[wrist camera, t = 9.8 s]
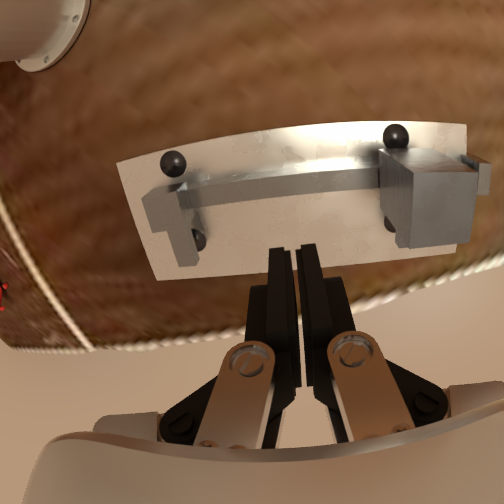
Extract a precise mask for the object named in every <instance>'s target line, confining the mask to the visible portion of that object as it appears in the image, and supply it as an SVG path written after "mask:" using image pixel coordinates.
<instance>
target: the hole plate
mask: <svg viewBox="0 0 504 504" xmlns="http://www.w3.org/2000/svg"><path fill="white" fill-rule="evenodd" d="M396 148H432V149H435V150H437V151H439V152H441V153H443V154H445V155H447V156H449V157H451V158H453V159H455V160H459V161H461V162H462V154H465V155H466V124H463V123H452V122H437V121H411V120H373V121H346V122H330V123H317V124H306V125H297V126H288V127H279V128H272V129H264V130H257V131H251V132H245V133H239V134H233V135H227V136H222V137H216V138H211V139H206V140H201V141H197V142H192V143H188V144H183V145H179V146H175V147H170V148H166V149H162V150H158V151H155V152H151V153H147V154H143V155H140V156H136V157H133V158H129V159H126V160H123V161H120V162H118V163H116V164H117V168H118V171H119V174H120V178H121V181H122V184H123V188H124V191H125V194H126V197H127V200H128V203H129V206H130V209H131V212H132V215H133V218H134V221H135V224H136V227H137V230H138V232H139V235H140V238H141V241H142V243H143V246H144V249H145V251H146V254H147V257H148V259H149V262H150V264H151V267H152V269H153V272H154V274H155V277H156V279H157V281H158V280H173V279H188V278H202V277H215V276H228V275H241V274H253V273H265V272H268V258H269V248H277V247H284V250H285V251H286V250H290V251H291V260H292V268H293V270H297V262H296V253H295V249H301V245H303V244H312V243H316V247H317V252H318V256H319V260H320V265H321V267H331V266H341V265H351V264H361V263H370V262H379V261H389V260H398V259H406V258H415V257H424V256H432V255H440V254H448V253H455V251H456V246H457V244H451V245H442V246H433V247H424V248H415V249H409V248H398V246H397V245H396V243H395V233H396V229H395V228H394V226H393V225H392V223H391V222H390V221H389V219H388V218H387V216H386V215H385V214H384V212H383V211H382V210H381V208H380V188H374V189H360V190H347V191H335V192H324V193H313V194H303V195H294V196H284V197H276V198H267V199H259V200H251V201H243V202H235V203H228V204H221V205H214V206H207V207H200V208H193V211H194V215H195V216H194V218H193V219H192V221H191V222H190V227H191V231H192V234H193V237H195V238H197V240H198V244H197V246H196V248H197V251H198V255H199V258H200V260H199V262H198V264H197V266H189V267H179V266H178V263H177V260H176V257H175V255H174V252H173V249H172V246H171V243H170V240H169V237H168V234H167V231H164V232H157V233H152V231H151V228H150V225H149V222H148V219H147V216H146V213H145V210H144V207H143V203H142V200H141V198H142V197H143V196H144V195H146V194H147V193H148V192H149V191H150V190H152V189H153V188H157V187H162V186H166V185H171V184H176V183H182V182H186V184H188V183H194V182H199V181H205V180H211V179H217V178H223V177H230V176H236V175H243V174H250V173H257V172H265V171H273V170H281V169H290V168H299V167H309V166H319V165H331V164H343V163H358V162H376V161H379V149H396Z"/></svg>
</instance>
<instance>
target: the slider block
mask: <svg viewBox="0 0 504 504" xmlns="http://www.w3.org/2000/svg"><path fill="white" fill-rule="evenodd" d="M379 173H380V208H381V210H382V211H383V212H384V214H385V215H386V216H387V218H388V219H389V221H390V222H391V223H392V225H393V226H394V228H395V229H396V233H395V243H396V245H397V246H398V248H409V249H415V248H424V247H433V246H442V245H451V244H460V243H469V240H470V235H471V229H472V223H473V217H474V210H475V202H476V193H477V183H478V172H477V171H475V170H473V169H471V168H470V167H468V166H466V165H464V164H462V163H460V162H458V161H457V160H455V159H453V158H451V157H449V156H447V155H445V154H443V153H441V152H439V151H437V150H435V149H432V148H396V149H379Z"/></svg>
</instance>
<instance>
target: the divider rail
mask: <svg viewBox="0 0 504 504" xmlns="http://www.w3.org/2000/svg"><path fill="white" fill-rule="evenodd" d="M457 161H458V162H460V163H462V164H464V165H466V166H468V167H470V168H471V169H473V170H475V171H477V172H478V183H477V193H476V195H489V188H490V178H491V165H492V164H491V163H489V162H487V161H485V160H483V159H481V158H479V157H477V156H475V155H465V154H462V162H461V161H459V160H457ZM374 188H380V173H379V161H376V162H358V163H343V164H331V165H319V166H309V167H299V168H290V169H281V170H273V171H265V172H257V173H250V174H243V175H236V176H230V177H223V178H217V179H211V180H205V181H199V182H194V183H188V184H186V182H182V183H176V184H171V185H166V186H162V187H157V188H153V189H152V190H150V191H149V192H148V193H147V194H146V195H144V196H143V197H142V198H141V200H142V203H143V207H144V210H145V213H146V216H147V219H148V222H149V225H150V228H151V231H152V233H157V232H164V231H167V234H168V237H169V240H170V243H171V246H172V249H173V252H174V255H175V257H176V260H177V263H178V266H179V267H189V266H197V264H198V262H199V260H200V258H199V255H198V251H197V248H196V246H197V244H198V240H197V238H195V237H193V234H192V231H191V227H190V222H191V221H192V219H193V218H194V216H195V215H194V211H193V208H200V207H207V206H214V205H221V204H228V203H235V202H243V201H251V200H259V199H267V198H276V197H284V196H294V195H303V194H313V193H324V192H335V191H347V190H360V189H374Z"/></svg>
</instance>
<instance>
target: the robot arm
mask: <svg viewBox="0 0 504 504" xmlns="http://www.w3.org/2000/svg"><path fill="white" fill-rule="evenodd" d="M89 5H90V0H0V62H6V61H15V62H16V63H17V65H18V66H19V67H20V68H21V69H22V70H25V71H28V72H35V71H41V70H44V69H47V68H49V67H50V66H52V65H54V64H55V63H56V62H57V61H58V60H60V59H61V58H62V57H63V56H64V54H65V53H66V52H67V51H68V50H69V49H70V47H71V46H72V45H73V43H74V42H75V40H76V38H77V37H78V35H79V33H80V31H81V29H82V27H83V25H84V23H85V20H86V17H87V14H88V10H89ZM295 253H296V262H297V272H298V282H299V292H300V303H301V314H302V326H303V338H304V351H305V364H306V379H307V387H309V386H313V391H314V396H315V398H316V399H317V400H319V401H320V402H322V403H323V404H325V409H326V413H327V417H328V421H329V424H330V428H331V432H332V436H333V440H334V444H331V445H324V446H314V447H301V448H283V449H278V447H279V442H280V437H281V432H282V427H283V422H284V417H285V408H286V407H287V406H288V405H289V404H290V403H291V402H292V401H293V400H294V399H295V397H294V396H296V391H295V390H296V388H297V387H302V384H301V363H300V346H299V329H298V315H297V304H296V294H295V285H294V276H293V268H292V260H291V251H290V250H286V251H285V250H284V247H277V248H269V258H268V285H258V286H251V288H250V295H249V304H248V313H247V322H246V331H245V341H244V342H243V343H239V344H237V345H236V346H234V347H232V348H231V349H230V350H229V351H228V352H227V354H226V356H225V357H224V360H223V363H222V365H221V368H220V371H219V374H218V375H217V376H216V377H215V378H214V379H212V380H210V381H209V382H208V383H206V384H205V385H203V386H202V387H201V388H199V389H198V390H196V391H195V392H194V393H192V394H191V395H189V396H188V397H186V398H185V399H184V400H182V401H181V402H179V403H178V404H176V405H175V406H173V407H172V408H170V409H169V410H168V411H167V412H166V413H163V414H159V413H158V412H147V413H136V414H121V415H107V416H103V417H102V418H100V419H99V420H98V421H97V422H96V423H95V425H94V428H93V432H86V431H84V432H74V433H68V434H64V435H60V436H58V437H56V438H53V439H52V440H50V441H49V442H48V443H47V444H46V445H45V446H44V448H43V449H42V451H41V453H40V455H39V456H38V458H37V461H36V463H35V465H34V468H33V470H32V473H31V475H30V478H29V482H28V485H27V488H26V491H25V494H24V498H23V502H22V504H504V382H502V381H492V382H483V383H474V384H464V385H453V386H452V385H451V386H449V387H448V388H447V389H441V388H440V387H438V386H437V385H435V384H433V383H431V382H429V381H427V380H425V379H423V378H421V377H419V376H417V375H415V374H414V373H412V372H410V371H408V370H406V369H404V368H402V367H400V366H398V365H396V364H394V363H392V362H390V361H388V360H387V359H385V358H384V356H383V354H382V352H381V350H380V348H379V346H378V344H377V343H376V341H375V340H374V338H373V337H371V336H370V335H368V334H366V333H364V332H360V331H356V329H355V325H354V321H353V317H352V313H351V309H350V306H349V302H348V298H347V295H346V291H345V288H344V284H343V281H342V278H341V276H340V277H332V278H323V274H322V270H321V265H320V260H319V256H318V252H317V247H316V243H312V244H303V245H301V249H295Z"/></svg>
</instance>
